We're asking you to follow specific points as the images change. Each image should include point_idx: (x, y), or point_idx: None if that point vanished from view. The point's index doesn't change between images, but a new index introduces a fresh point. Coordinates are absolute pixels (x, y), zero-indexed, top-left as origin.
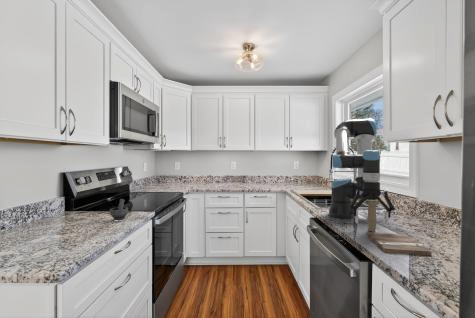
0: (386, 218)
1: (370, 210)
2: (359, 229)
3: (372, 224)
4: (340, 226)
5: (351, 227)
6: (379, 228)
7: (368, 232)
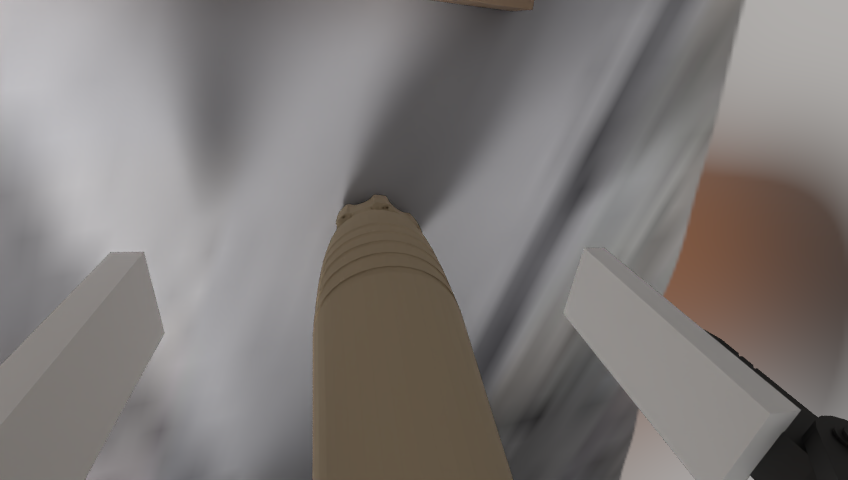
0: (80, 338)
1: (497, 469)
2: (490, 264)
3: (396, 229)
4: None
5: (539, 314)
6: (240, 345)
7: (524, 6)
